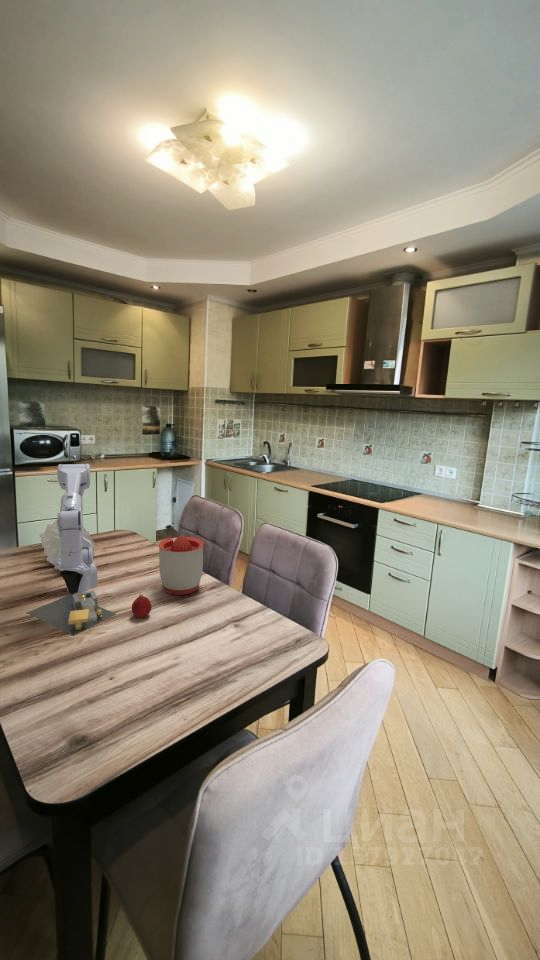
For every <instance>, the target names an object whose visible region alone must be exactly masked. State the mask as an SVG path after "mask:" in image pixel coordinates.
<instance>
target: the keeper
mask: <svg viewBox="0 0 540 960" xmlns="http://www.w3.org/2000/svg"><path fill="white" fill-rule="evenodd" d="M88 616H89V609H85V610H76V611H70V615H69V620H68V624H74V623H75V628H76V630H81V629H82V624H81V623H82V622H88Z"/></svg>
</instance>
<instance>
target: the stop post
mask: <svg viewBox="0 0 540 960" xmlns="http://www.w3.org/2000/svg"><path fill="white" fill-rule="evenodd" d="M96 615H97V618H101V617H102V609H97V610H96Z"/></svg>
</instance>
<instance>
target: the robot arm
mask: <svg viewBox="0 0 540 960" xmlns="http://www.w3.org/2000/svg"><path fill="white" fill-rule="evenodd" d="M56 468H57V471H56V472H57V474H56V475H57V481H58V485H59V486H60V489H61V490H64V491H65V493H63V495H62V496H61V498H60V508H59V512H57V514H56V520H57V527H58V531H59V537H60V547H61V555H60V558H58V559H55V560H54V561H55V565H54V567H55V566H60V567H58V569H57V570H59V571H60V572H59V575H60V576H61V577H62V579H63V581H64V583H65V585H66V591H67V593H69V595H73V594H78V593H84V592H88V591H89V590H90V589H92V588H94V587H97V586H98V569H97V565H96V564H95V563H94V556H93V548H92V543H91V541H89V540H88V539H86V538H84V537H83V527H84V504H83V503H84V502H83V501H84V500H83V499H84V498H83V496H84V492H85V490H87V489H88V490H89V488H90V486H91V466H90V464H89V463H85V464H84V463H79V464H78V463H76V464H75V463H74V464H73V463H72V464H71V463H70V464H68V463H67V464H63V463H62V464H61V463H59V464H58V465H57V467H56ZM82 546H87V547H82Z"/></svg>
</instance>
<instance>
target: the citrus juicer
mask: <svg viewBox="0 0 540 960" xmlns="http://www.w3.org/2000/svg"><path fill="white" fill-rule="evenodd" d="M157 545H158V550H159V551H158V553H159V557H158V558H159V562H158V563H159V565H158V567H159V576H160V580H161V584H162V587H163V589H164V590H165V591H164V592H166V593H168V594H170V595H172V594H174V596H175V595H176V596H178V595H179V596H181V595H182V596H183V595H188V594H192V593H194V592H196V591H197V590H198V588H199V586H200V583H201V579H202V575H203V569H204V545H205V543H204V541H203V540H201V539H199V538H197V537H193V536H192V537H191V536H187V537H186V536H184V535H183V534H180V535H179V536H178V537H176V538H175V540H173V538H172V537H169V538H165V539H163V540H161V541H160V542H159V543H158V544H157Z"/></svg>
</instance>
